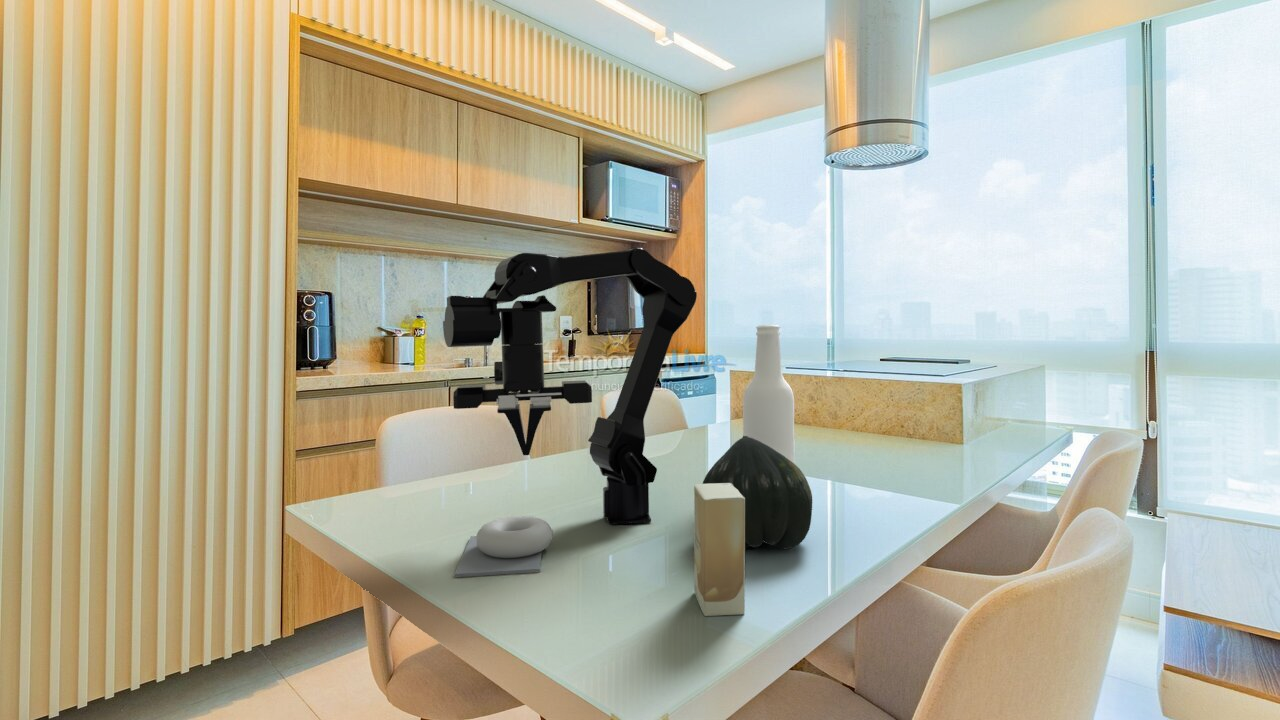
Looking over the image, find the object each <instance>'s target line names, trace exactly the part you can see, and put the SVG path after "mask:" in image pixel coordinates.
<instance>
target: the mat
mask: <svg viewBox="0 0 1280 720" xmlns="http://www.w3.org/2000/svg"><path fill="white" fill-rule="evenodd" d="M476 536H477V535H474V536H473V535H472V536H470V538H469V541H468V542H467V544H466V547H465V549H464V552H463V553H462V557H461V559H460V561H459V563H458V566H457V568H456V570H455V572H454V578H464V577H465V578H466V577H467V578H469V577H482V576H483V577H484V576H497V575H498V576H499V575H511V574H512V575H516V574H528V573H531V574H532V573H540V572H541V566H542V565H541V563H542V562H541V561H542V551H540V552H538V553H536V554H533V555H530V556H526V557H519V558H498V557H493V556H490V555H486V554H485V553H484V552H482V551H481V550H480V549H479V548H478V546H477V541H476Z"/></svg>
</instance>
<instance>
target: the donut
mask: <svg viewBox="0 0 1280 720" xmlns="http://www.w3.org/2000/svg"><path fill="white" fill-rule="evenodd" d="M475 536H476V541H477V546H478V548H479V549H480V550H481V551H482V552H484V553H485V554H486V555H490V556H493V557H498V558H519V557H526V556H530V555H533V554H536V553H538V552H540V551H541V552H542V551H544V550H545V549H546V548H548V546H550V543H551V541H552V539H553V538H554V537H553V536H554V533H553V528H552V527H551V525H550V523H549V522H547V521H546V520H544V519H542V518H540V517H536V516H531V515H515V516H514V515H513V516H504V517H500V518H496V519H492V520H491V521H489V522H486V523H484V524H483V525H482V527H480V529H478V532H477V533H476V535H475Z"/></svg>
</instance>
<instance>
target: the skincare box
mask: <svg viewBox="0 0 1280 720" xmlns="http://www.w3.org/2000/svg"><path fill="white" fill-rule="evenodd" d="M693 487H694V489H693V491H694V493H693V494H694V501H693V502H694V503H693V504H694V505H693V508H694V511H693V512H694V514H693V515H694V522H693V523H694V524H693V525H694V533H693V534H694V538H693V539H694V543H693V545H694V547H693V549H694V550H693V551H694V562H693V563H694V565H693V566H694V567H693V569H694V574H693V575H694V578H693V581H694V583H693V584H694V585H693V586H694V588H693V589H694V595H695V598H696V600H697V603H698V605H699V608H700V609H701V612H702V614H703V615H704V616H705V617H710V616H712V617H714V616H733V615H736V616H737V615H738V616H739V615H745V610H746V608H745V600H746V599H745V595H746V594H745V591H746V590H745V585H746V584H745V583H746V582H745V581H746V577H745V570H746V567H745V566H746V565H745V564H746V560H745V559H746V556H745V555H746V554H745V553H746V548H745V498H744V497H743V496H742V494H741V493H740V492H739V491H738V490H737V489H736V488H735V487H734V486H733V485H732V483H714V484H703V483H698V484H697V483H695V484H694V486H693Z"/></svg>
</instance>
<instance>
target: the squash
mask: <svg viewBox="0 0 1280 720" xmlns="http://www.w3.org/2000/svg"><path fill="white" fill-rule="evenodd" d="M714 483H732V485H733V486H734V487H735V488H736V489H737V490H738V491H739V492H740V493H741V494H742V496H743V497H744V498H745V549H746V548H749V547H751V548H759V547H760V546H761V545H762V544H763V542H764V543H765V544H766V545H771V546H773V547H774V548H778V549H781V550H787V549H792V548H794V547H797V546H798V545H801V543H802V542H803V541H804V540H805V538H806V537H807V536H808V534H809V531H810V528H811V522H812V517H813V515H812V513H813V494H812V490H811V488H810V485H809V482H808V480H807V477H806V476H805V474H804V473H803V471H802V470H801V469H800V468H799V466H798V465H796V464H795V462H794V463H793V462H791V461H790V460H789V459H787V458H786V457H785V456H783V455H782V454H780V453H778V452H777V451H775V450H774V449H772V448H771V447H769V446H767V445H766V444H764V443H762V442H760V441H758V440H756V439H753V438H749V437H748V436H743V435H742V437H741V438H739V439H738V440H736V441H735V442H734V444H732V445H731V446H730V447H729V448H728V450H726V452H725V453H724V454H723V455H722V456H721V457H720V458H719V459H718V460H717V461H716V462H714V464H713V465H712V466H711V468H710V469H709V471H707V473H706V475H705V476H704V478H703V482H702V484H714Z"/></svg>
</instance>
